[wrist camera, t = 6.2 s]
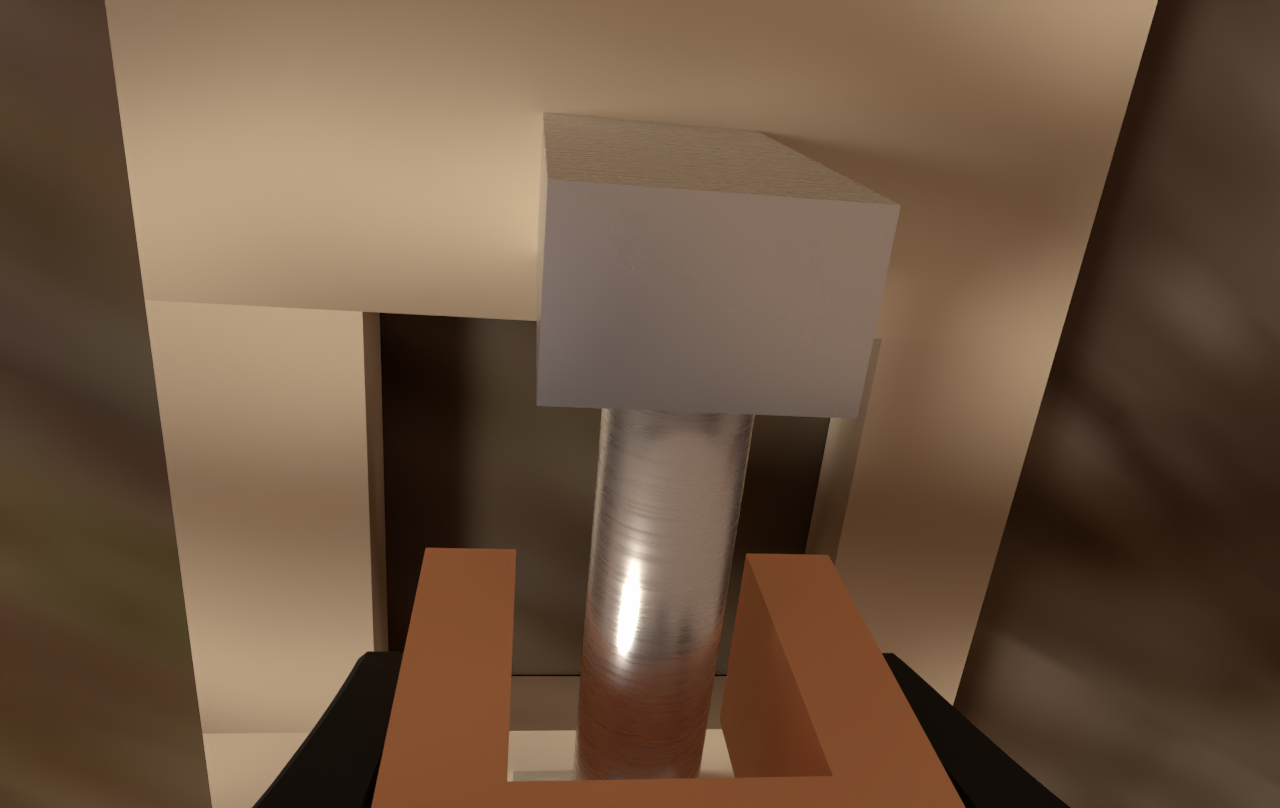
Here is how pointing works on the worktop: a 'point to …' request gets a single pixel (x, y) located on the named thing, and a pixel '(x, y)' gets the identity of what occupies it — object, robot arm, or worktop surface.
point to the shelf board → (507, 284)
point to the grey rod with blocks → (686, 385)
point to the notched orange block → (750, 715)
